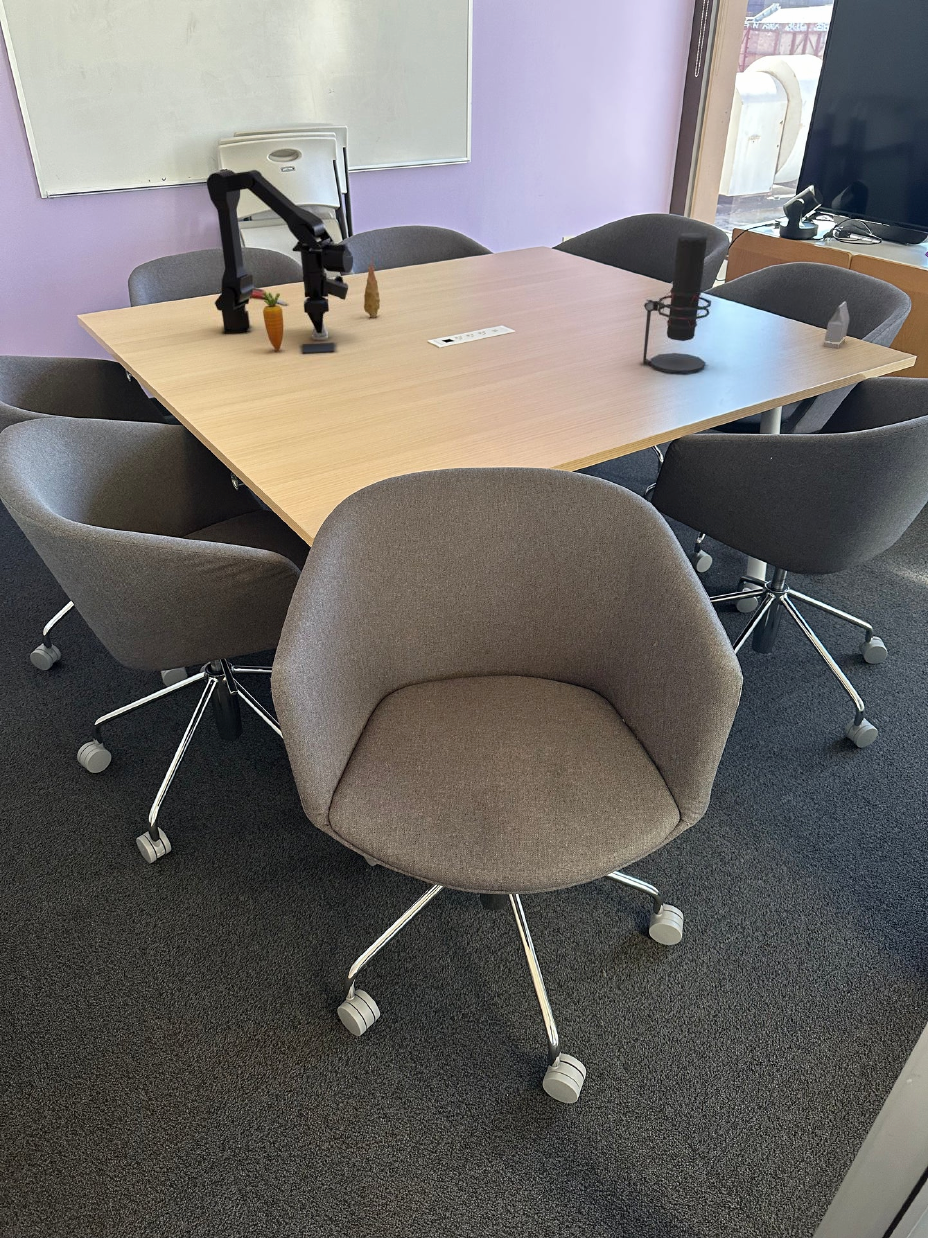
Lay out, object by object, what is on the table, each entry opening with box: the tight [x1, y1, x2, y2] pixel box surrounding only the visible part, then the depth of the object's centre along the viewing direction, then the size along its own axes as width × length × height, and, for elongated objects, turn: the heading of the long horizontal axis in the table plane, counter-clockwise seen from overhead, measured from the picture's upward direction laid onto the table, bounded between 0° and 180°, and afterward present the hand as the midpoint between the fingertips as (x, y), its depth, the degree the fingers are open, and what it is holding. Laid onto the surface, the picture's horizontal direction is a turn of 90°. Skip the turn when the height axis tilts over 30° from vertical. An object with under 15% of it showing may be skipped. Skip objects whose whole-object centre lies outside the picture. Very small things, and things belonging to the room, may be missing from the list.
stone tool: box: [363, 262, 381, 319], centre depth 254 cm, size 5×2×15 cm, turn 141°
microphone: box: [642, 232, 712, 375], centre depth 212 cm, size 14×13×30 cm
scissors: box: [250, 287, 287, 306], centre depth 277 cm, size 8×21×2 cm, turn 58°
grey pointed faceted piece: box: [823, 301, 851, 349], centre depth 230 cm, size 4×7×10 cm, turn 147°
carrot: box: [262, 290, 284, 352], centre depth 229 cm, size 5×5×15 cm
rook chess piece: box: [311, 316, 329, 342], centre depth 240 cm, size 4×4×8 cm
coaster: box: [302, 342, 335, 355], centre depth 234 cm, size 8×7×1 cm
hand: (319, 330), depth 241 cm, fingers closed on rook chess piece, 3 cm apart
